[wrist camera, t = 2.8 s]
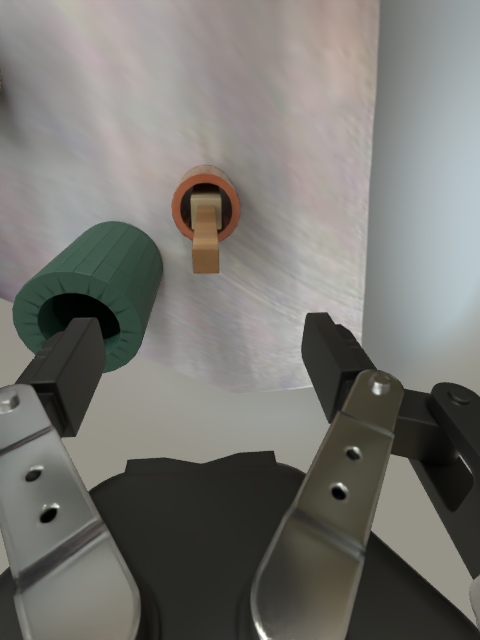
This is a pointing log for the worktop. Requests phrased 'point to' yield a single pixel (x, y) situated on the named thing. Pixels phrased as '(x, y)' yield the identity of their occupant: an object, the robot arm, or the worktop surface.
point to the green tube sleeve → (94, 290)
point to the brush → (205, 227)
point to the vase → (0, 81)
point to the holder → (228, 200)
